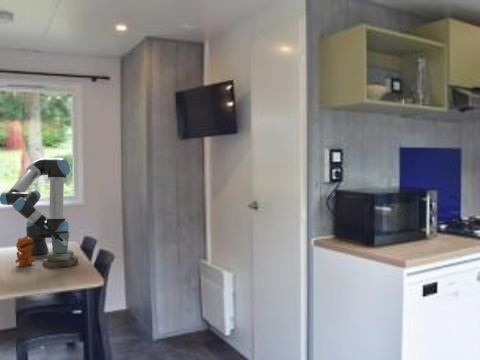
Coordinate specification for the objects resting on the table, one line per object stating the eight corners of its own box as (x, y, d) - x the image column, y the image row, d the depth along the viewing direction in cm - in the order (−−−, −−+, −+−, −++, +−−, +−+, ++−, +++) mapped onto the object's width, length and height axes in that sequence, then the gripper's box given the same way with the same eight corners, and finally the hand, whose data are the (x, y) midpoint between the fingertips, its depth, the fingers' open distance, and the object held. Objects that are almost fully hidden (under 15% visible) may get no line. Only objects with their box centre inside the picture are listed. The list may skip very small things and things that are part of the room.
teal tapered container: (47, 252, 271) (47, 232, 271) (60, 248, 281) (59, 229, 280) (60, 254, 268) (60, 234, 267) (73, 250, 277) (72, 231, 276)
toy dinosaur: (27, 267, 266) (26, 237, 265) (11, 266, 268) (10, 236, 267) (39, 263, 277) (38, 234, 276) (23, 262, 279) (23, 233, 278)
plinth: (54, 259, 286) (54, 249, 285) (84, 261, 283) (84, 250, 283) (36, 267, 266) (35, 255, 266) (67, 268, 263) (67, 257, 263)
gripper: (31, 221, 276) (59, 244, 284) (33, 226, 256) (63, 250, 264) (40, 211, 278) (68, 235, 286) (43, 216, 258) (72, 241, 266)
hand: (65, 242), depth 275 cm, fingers open, 10 cm apart
